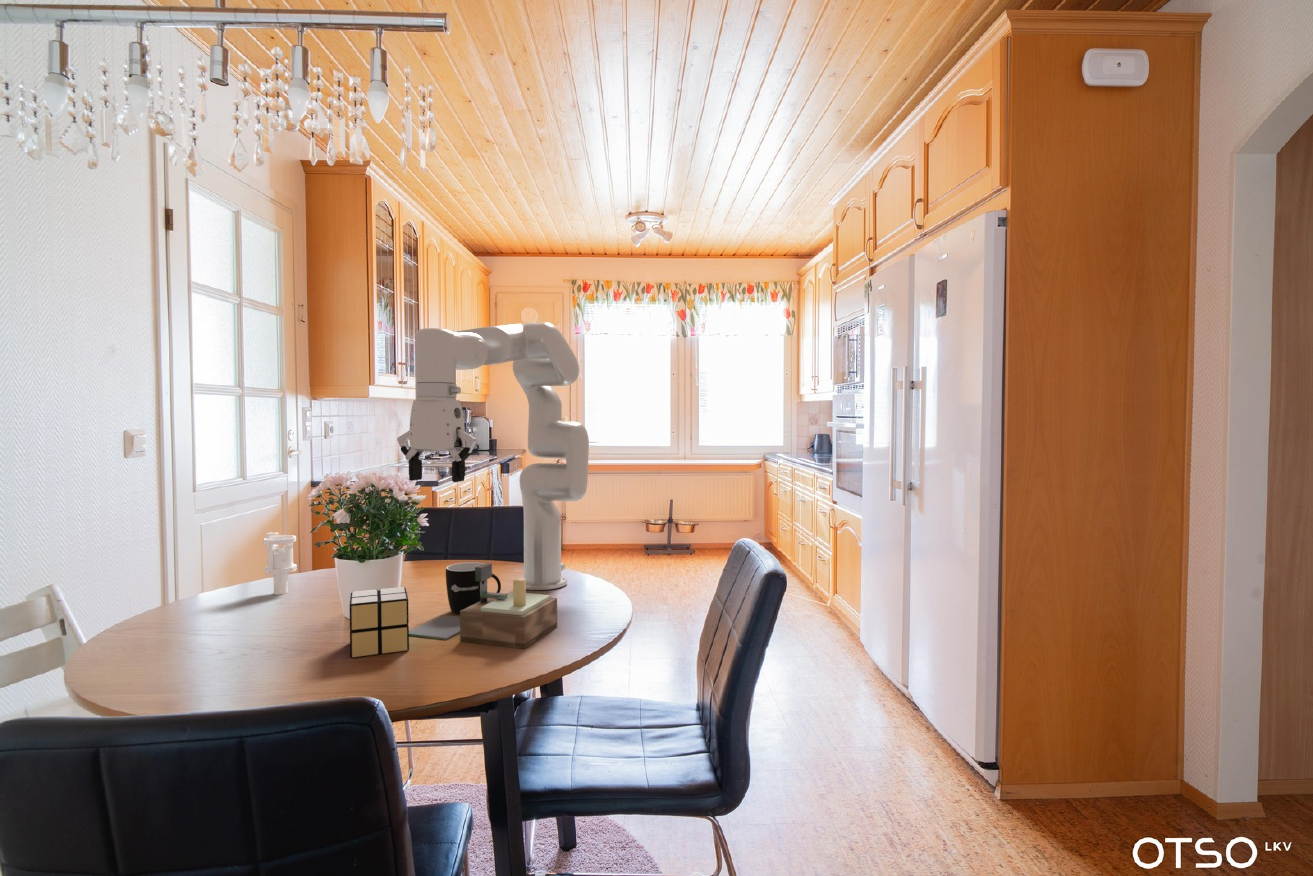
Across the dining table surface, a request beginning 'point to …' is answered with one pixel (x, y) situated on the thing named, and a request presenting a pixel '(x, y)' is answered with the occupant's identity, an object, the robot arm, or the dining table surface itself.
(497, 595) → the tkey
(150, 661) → the dining table surface
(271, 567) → the white cylindrical part
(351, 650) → the puzzle cube
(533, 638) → the case
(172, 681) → the dining table surface
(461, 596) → the mug
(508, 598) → the cover
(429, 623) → the mat
